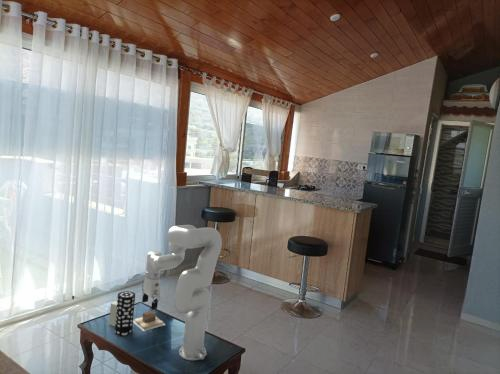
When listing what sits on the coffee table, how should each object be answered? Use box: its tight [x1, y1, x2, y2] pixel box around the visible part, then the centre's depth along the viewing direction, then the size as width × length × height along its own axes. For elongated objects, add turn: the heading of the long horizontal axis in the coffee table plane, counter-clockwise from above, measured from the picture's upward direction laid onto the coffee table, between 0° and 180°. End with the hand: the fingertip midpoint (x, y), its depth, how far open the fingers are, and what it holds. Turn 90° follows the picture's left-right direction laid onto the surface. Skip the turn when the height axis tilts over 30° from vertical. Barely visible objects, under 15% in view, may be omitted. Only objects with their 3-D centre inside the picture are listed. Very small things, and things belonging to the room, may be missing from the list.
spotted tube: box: [114, 290, 136, 337], centre depth 178 cm, size 8×8×20 cm
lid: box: [133, 310, 164, 331], centre depth 191 cm, size 11×11×6 cm
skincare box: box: [108, 300, 117, 328], centre depth 187 cm, size 6×4×12 cm
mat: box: [133, 320, 166, 332], centre depth 191 cm, size 13×13×1 cm
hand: (149, 305), depth 191 cm, fingers open, 9 cm apart
